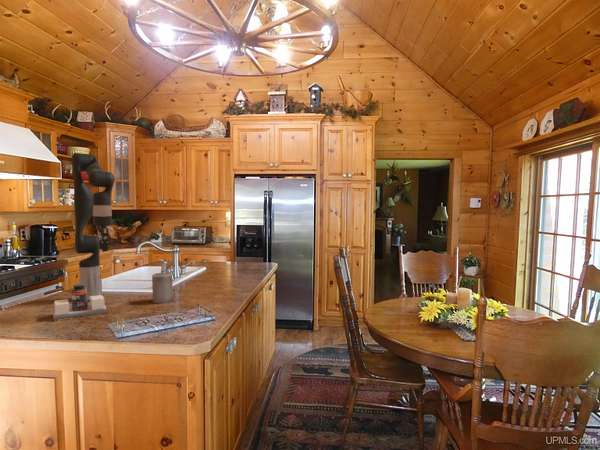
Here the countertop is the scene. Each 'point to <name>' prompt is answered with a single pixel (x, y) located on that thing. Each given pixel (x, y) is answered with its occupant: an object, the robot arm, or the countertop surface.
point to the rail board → (65, 312)
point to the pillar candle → (162, 287)
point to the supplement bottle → (79, 298)
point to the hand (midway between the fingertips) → (103, 250)
